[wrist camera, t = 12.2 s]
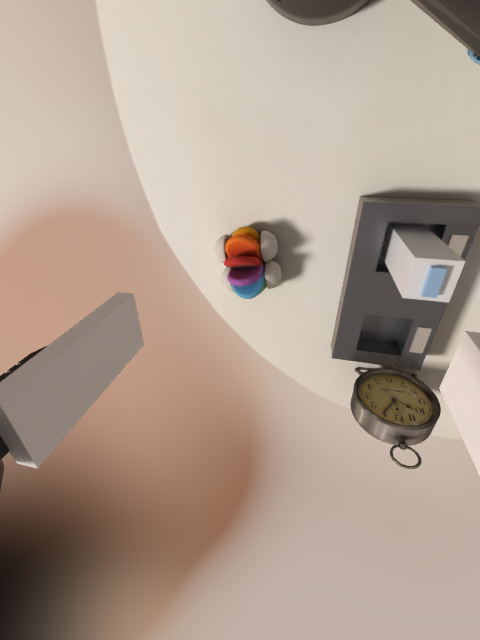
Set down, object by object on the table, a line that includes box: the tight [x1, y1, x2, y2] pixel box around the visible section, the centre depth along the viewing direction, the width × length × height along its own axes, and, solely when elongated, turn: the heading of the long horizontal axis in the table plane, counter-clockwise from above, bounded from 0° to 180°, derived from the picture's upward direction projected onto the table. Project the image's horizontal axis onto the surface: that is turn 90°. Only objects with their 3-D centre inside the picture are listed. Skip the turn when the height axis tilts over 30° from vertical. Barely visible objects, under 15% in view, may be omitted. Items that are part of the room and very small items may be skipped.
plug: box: [382, 225, 466, 302], centre depth 32 cm, size 4×4×13 cm
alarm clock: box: [351, 368, 441, 469], centre depth 42 cm, size 11×5×16 cm, turn 92°
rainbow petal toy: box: [215, 227, 282, 299], centre depth 41 cm, size 8×10×7 cm
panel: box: [331, 196, 480, 370], centre depth 39 cm, size 22×12×4 cm, turn 0°
